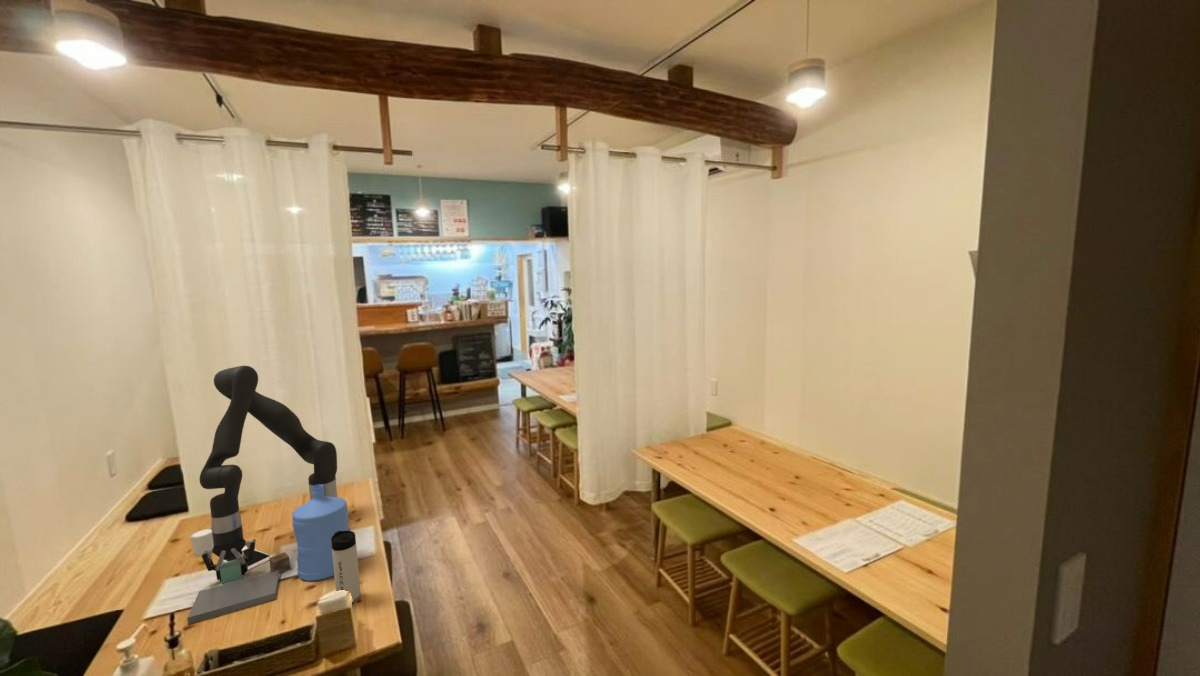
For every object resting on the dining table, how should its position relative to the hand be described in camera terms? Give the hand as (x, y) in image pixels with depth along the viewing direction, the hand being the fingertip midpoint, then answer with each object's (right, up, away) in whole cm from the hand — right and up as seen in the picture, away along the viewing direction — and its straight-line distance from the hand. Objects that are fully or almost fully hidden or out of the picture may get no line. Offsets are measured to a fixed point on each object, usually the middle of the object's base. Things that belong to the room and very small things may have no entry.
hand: (232, 576), depth 153 cm
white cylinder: (-24, 0, +18) cm, 30 cm away
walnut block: (+13, 0, +4) cm, 13 cm away
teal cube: (0, -1, 0) cm, 1 cm away
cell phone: (-4, 0, +11) cm, 12 cm away
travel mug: (+44, 0, -13) cm, 46 cm away
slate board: (+10, -1, -11) cm, 14 cm away
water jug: (+28, +1, +4) cm, 28 cm away
